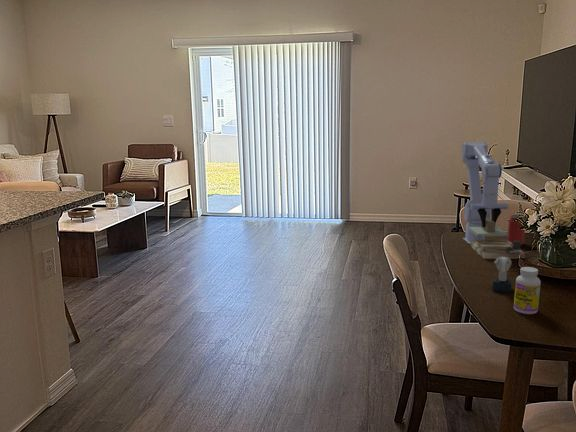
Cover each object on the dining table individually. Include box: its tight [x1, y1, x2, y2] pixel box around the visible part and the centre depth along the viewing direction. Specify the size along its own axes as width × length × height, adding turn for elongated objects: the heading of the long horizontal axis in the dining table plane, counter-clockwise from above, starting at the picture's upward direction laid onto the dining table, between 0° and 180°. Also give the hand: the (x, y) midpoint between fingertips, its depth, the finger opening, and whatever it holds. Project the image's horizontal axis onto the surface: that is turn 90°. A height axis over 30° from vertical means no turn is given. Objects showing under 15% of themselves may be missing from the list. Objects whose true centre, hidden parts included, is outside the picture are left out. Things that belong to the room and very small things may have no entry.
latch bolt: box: [509, 241, 522, 252], centre depth 210 cm, size 5×2×4 cm, turn 177°
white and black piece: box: [491, 257, 512, 294], centre depth 177 cm, size 6×8×11 cm
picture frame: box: [470, 239, 525, 260], centre depth 220 cm, size 18×16×4 cm
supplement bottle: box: [513, 266, 542, 315], centre depth 159 cm, size 7×7×13 cm
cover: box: [469, 218, 508, 237], centre depth 219 cm, size 12×12×5 cm
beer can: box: [506, 214, 526, 246], centre depth 231 cm, size 7×7×12 cm
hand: (488, 226), depth 219 cm, fingers closed on cover, 3 cm apart
